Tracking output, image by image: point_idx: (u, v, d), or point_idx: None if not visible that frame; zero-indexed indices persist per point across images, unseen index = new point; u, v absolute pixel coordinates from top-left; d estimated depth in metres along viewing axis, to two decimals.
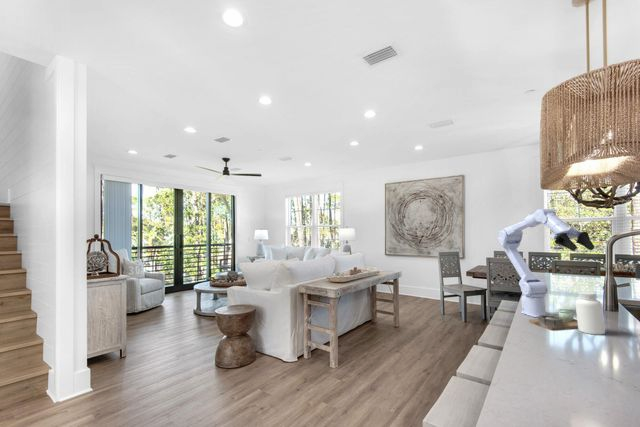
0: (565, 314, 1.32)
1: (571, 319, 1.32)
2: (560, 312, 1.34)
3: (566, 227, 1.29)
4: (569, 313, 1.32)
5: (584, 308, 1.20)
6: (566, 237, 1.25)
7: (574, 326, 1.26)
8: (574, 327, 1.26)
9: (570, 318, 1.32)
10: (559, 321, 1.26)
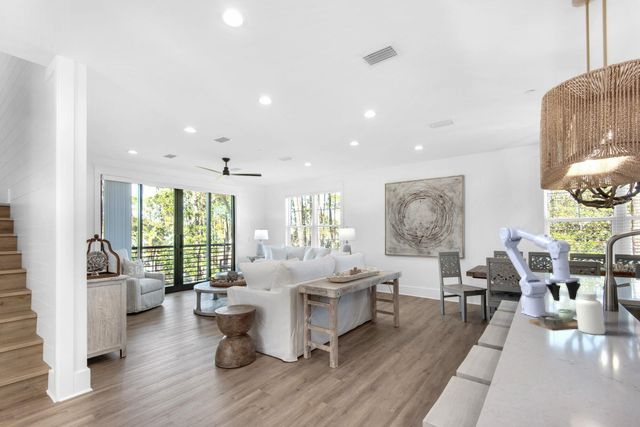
0: (565, 314, 1.32)
1: (571, 319, 1.32)
2: (560, 312, 1.34)
3: (565, 276, 1.33)
4: (569, 313, 1.32)
5: (584, 308, 1.20)
6: (557, 289, 1.32)
7: (574, 326, 1.26)
8: (574, 327, 1.26)
9: (570, 318, 1.32)
10: (559, 321, 1.26)
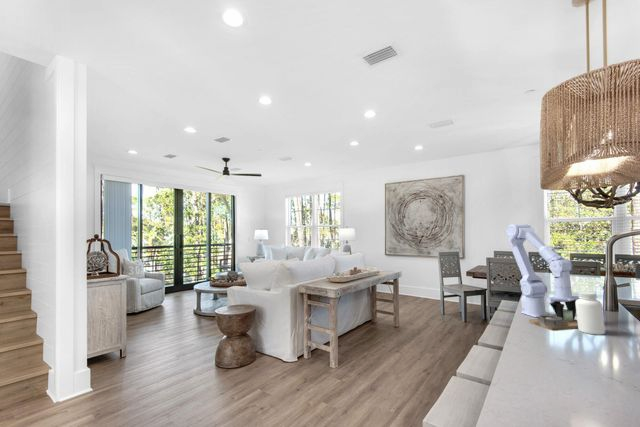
0: (565, 314, 1.32)
1: (571, 319, 1.32)
2: None
3: (567, 296, 1.32)
4: (569, 313, 1.32)
5: (584, 308, 1.20)
6: (561, 308, 1.32)
7: (574, 326, 1.26)
8: (574, 327, 1.26)
9: (570, 318, 1.32)
10: (559, 321, 1.26)
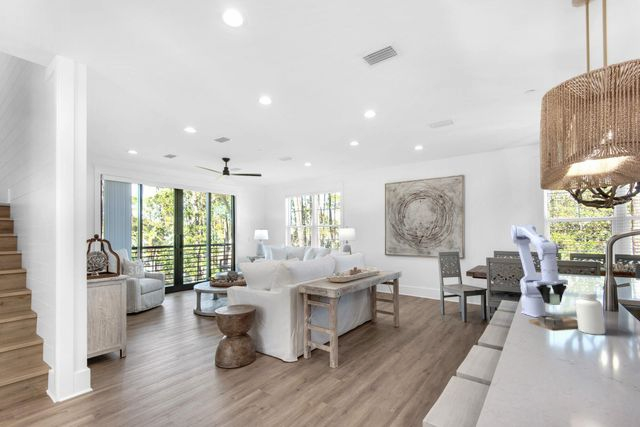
0: (552, 298, 1.30)
1: (558, 303, 1.29)
2: None
3: (554, 279, 1.30)
4: (556, 297, 1.29)
5: (584, 308, 1.20)
6: (547, 292, 1.30)
7: (574, 326, 1.26)
8: (574, 327, 1.26)
9: (557, 302, 1.29)
10: (559, 321, 1.26)
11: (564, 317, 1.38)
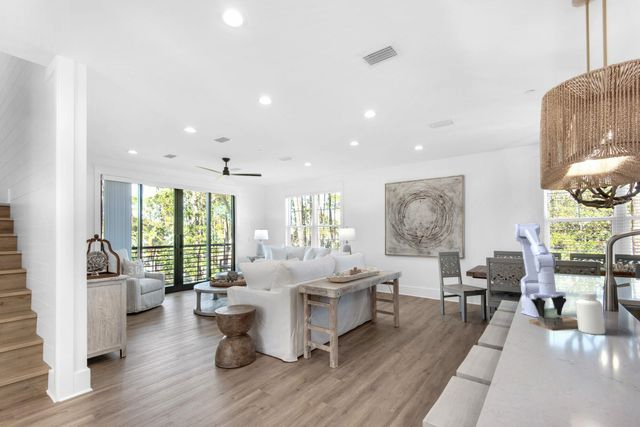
0: (549, 312, 1.29)
1: (555, 318, 1.28)
2: (544, 310, 1.30)
3: (551, 291, 1.28)
4: (553, 311, 1.28)
5: (584, 308, 1.20)
6: (542, 305, 1.28)
7: (574, 326, 1.26)
8: (574, 327, 1.26)
9: (554, 317, 1.28)
10: (559, 321, 1.26)
11: (564, 317, 1.38)
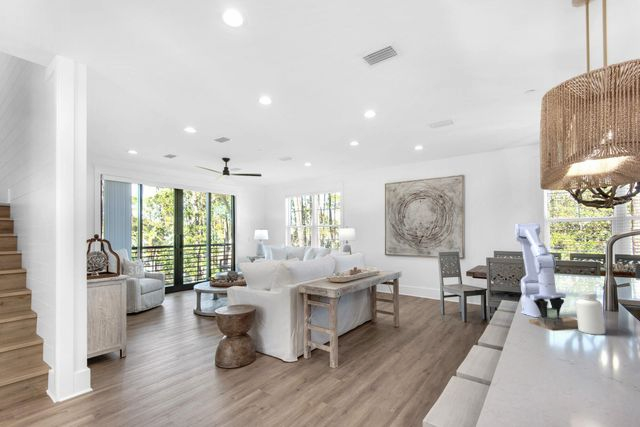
0: (549, 312, 1.29)
1: (555, 318, 1.28)
2: None
3: (551, 292, 1.28)
4: (553, 311, 1.28)
5: (584, 308, 1.20)
6: (544, 306, 1.28)
7: (574, 326, 1.26)
8: (574, 327, 1.26)
9: (554, 317, 1.28)
10: (559, 321, 1.26)
11: (564, 317, 1.38)
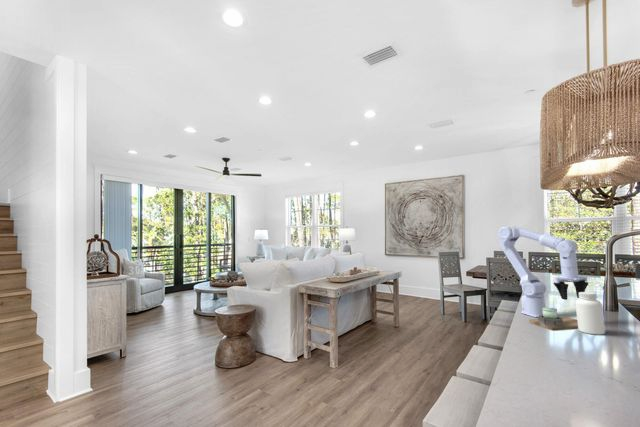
0: None
1: None
2: (556, 311, 1.29)
3: (573, 275, 1.33)
4: None
5: (584, 308, 1.20)
6: (565, 288, 1.33)
7: (574, 326, 1.26)
8: (574, 327, 1.26)
9: None
10: (559, 321, 1.26)
11: (564, 317, 1.38)
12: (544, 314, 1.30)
